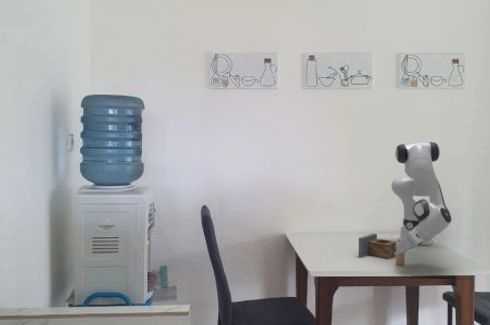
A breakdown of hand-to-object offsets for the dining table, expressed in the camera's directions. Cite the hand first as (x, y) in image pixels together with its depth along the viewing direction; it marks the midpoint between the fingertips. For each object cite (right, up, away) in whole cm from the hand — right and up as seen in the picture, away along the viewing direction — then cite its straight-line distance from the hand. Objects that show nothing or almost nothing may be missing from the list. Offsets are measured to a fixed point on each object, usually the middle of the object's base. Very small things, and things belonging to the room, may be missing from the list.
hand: (399, 252), depth 207 cm
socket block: (-2, -5, +19) cm, 19 cm away
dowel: (0, -6, 0) cm, 6 cm away
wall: (-10, -5, +20) cm, 23 cm away
